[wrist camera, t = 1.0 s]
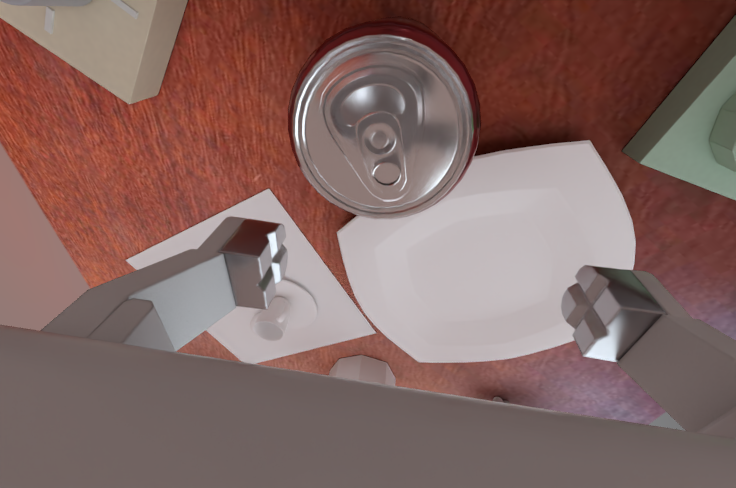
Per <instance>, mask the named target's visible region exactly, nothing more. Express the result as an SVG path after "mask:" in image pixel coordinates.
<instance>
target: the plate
mask: <svg viewBox="0 0 736 488" xmlns="http://www.w3.org/2000/svg"><path fill="white" fill-rule="evenodd" d="M337 237H338V241H339V245H340V250H341V254H342V258H343V262H344V266H345V269H346V273H347V277H348V280H349V282H350V285H351V288H352V290H353V293H354V295H355V298H356V299H357V301H358V303H359V305H360V306H361V308H362V310H363V312H364V313H365V314H366V315H367V317H368V318H369V319H370V320H371V322H372V323H373V324H374V325H375V326H376V327H377V328H378V329H379V330H380V331H381V332H382V333H383V334H384V335H385V336H386V337H387V338H388V339H390V340H391V341H392V342H393V343H395V344H396V345H397V346H398V347H400V348H401V349H402V350H403V351H405V352H406V353H407V354H409V355H410V356H411V357H413V358H414V359H415V360H417V361H418V362H430V363H453V362H480V361H493V360H502V359H511V358H515V357H519V356H523V355H528V354H532V353H536V352H539V351H542V350H546V349H549V348H553V347H556V346H559V345H562V344H565V343H568V342H571V341H574V340H575V339H574V337H573V335H572V334H573V332H574V330H575V329H574V328H573V327H572V326H571V325H570V324H568V323H567V322H566V321H565V319H564V316H563V314H562V309H561V303H562V297H563V295H564V293H565V291H566V290H567V288H568V287H570V286H572V285H574V284H576V283H577V281H576V278H575V275H576V274H577V272H578V271H579V269H580V268H582V267H583V266H584V265H591V266H599V267H607V268H615V269H623V270H625V269H627V270H633V266H634V260H635V245H636V241H635V235H634V229H633V223H632V219H631V216H630V214H629V211H628V208H627V206H626V203H625V201H624V198H623V195H622V194H621V192H620V190H619V188H618V186H617V185H616V183H615V181H614V179H613V178H612V176H611V174H610V172H609V170H608V169H607V167H606V165H605V164H604V162H603V161H602V159H601V157H600V156H599V154H598V153H597V151H596V149H595V148H594V146H593V144H592V143H591V141H590V140H586V141H576V142H565V143H554V144H545V145H538V146H531V147H524V148H516V149H509V150H503V151H498V152H493V153H489V154H484V155H479V156H474V158H473V160H472V163H471V165H470V166H469V168H468V170H467V172H466V173H465V175H464V177H463V178H462V180H461V181H460V182H459V183H458V184H457V185H456V187H455V188H454V189H453V190H452V191H451V192H450V193H449V194H448V195H447V196H446V197H444V198H443V199H442V200H441V201H439V202H438V203H437V204H435V205H433V206H432V207H430V208H428V209H426V210H424V211H422V212H420V213H417V214H414V215H411V216H408V217H403V218H396V219H372V218H367V217H361V216H358V215H357V216H356V217H355V218H354V219H352V220H351V221H350V222H349V223H347V224H346V225H345V226H344V227H343V228H341V229H340V230H339V231H338V232H337Z"/></svg>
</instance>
